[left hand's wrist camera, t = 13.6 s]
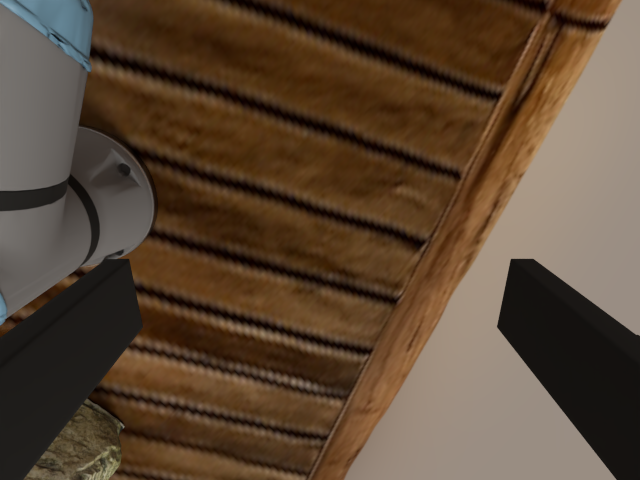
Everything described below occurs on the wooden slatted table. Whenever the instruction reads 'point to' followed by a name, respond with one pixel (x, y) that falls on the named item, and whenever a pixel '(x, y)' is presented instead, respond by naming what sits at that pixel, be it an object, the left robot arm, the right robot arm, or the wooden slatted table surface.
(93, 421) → the fossil
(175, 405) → the wooden slatted table surface
